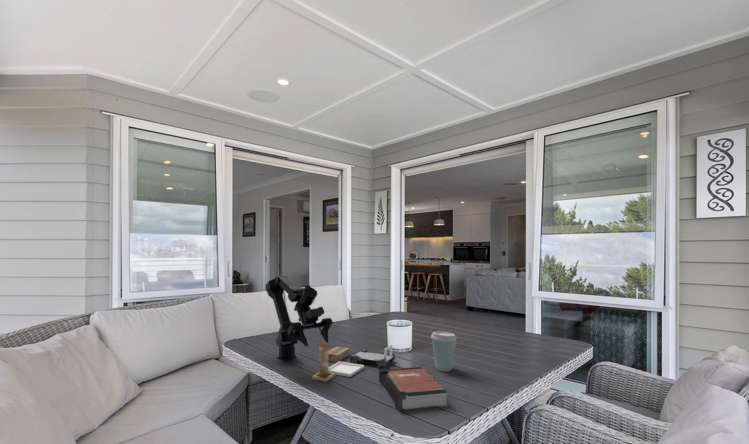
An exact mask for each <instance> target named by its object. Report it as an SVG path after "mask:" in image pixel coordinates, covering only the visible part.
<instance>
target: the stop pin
mask: <svg viewBox="0 0 749 444" xmlns="http://www.w3.org/2000/svg"><path fill="white" fill-rule="evenodd" d="M329 346H330V344H329V342H328V343H326V342H320V343H319V346H318V347H319V351H318V352H319V353H318V355H319V357H318V359H319V361H318V362H319V363H318V365H319V367H318V370H319V371H318V373H319V376H320V377H325V378H326V377H328V376H329V367H330V366H329V362H330V361H329V350H330V347H329Z"/></svg>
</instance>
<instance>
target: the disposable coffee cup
mask: <svg viewBox="0 0 749 444" xmlns="http://www.w3.org/2000/svg"><path fill="white" fill-rule="evenodd" d="M430 338H431V343H432V344H431V345H432V349H433V350H432V351H433V358H434V365H435V369H436V370H437V371H440V372H450V371H451V370H452V368H453V364H454V356H455V350H456V343H457V340H458V338H457V336H456V335H455V333H451V332H448V331H433V332H432V334H431V335H430Z"/></svg>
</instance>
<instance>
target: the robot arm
mask: <svg viewBox="0 0 749 444" xmlns="http://www.w3.org/2000/svg"><path fill="white" fill-rule="evenodd" d="M265 291H266V292H267V295H268V297H270V299H272V301H273V304H274V308H275V312H276V315H277V318H278V323H279V325H280V326H279V329H278V334H277V337H276V339H275V344H276V345H277V346H278V356H276V359H278V360H284V361H289V360H291V359H293V358H296V357H297V354H296V353H295V352H296V347H295V344H298V341H299V342H300V343H301V344H302V345H304V346H305V347H306V348H307V347H309V343H308V340H307V337H306V335H305V332H304V330H312V329H318V330H319V331H320V335H321V337H322V338H323V340H324V341H325V342H324V343H329V330H330V328H331V326H332V325H333V323H334V321H333V319H332V318H331V317H326V318H324V317H323V318H322V319H321V321H320V322H318V321H319V317H322V316H323V315H324V314H325V309H324V308H323V306H318V307H317V308H311V305H313V304H314V301H315V299H316V298H317V296H318V291H317V290H316V289H315V288H313V287H312V286H311V285H309V284H308V285H305V286H304V287H302V286H298V285H296V284H295V283H294V282H293V281H291V279H289V278H288V276H286V275H277V276H275V277H274V278H273V279H271V280H268V282H266V284H265ZM284 292H286V294H287V299H288V300H289V301H290V303H295V305H294V307H293V311H294V312H297V315H298V317H299V318H298V320H297V321H296V322H295V321H294V322H292V321H291V319H290V315H289V312H288V309H287V305H286V302H285V299H284Z"/></svg>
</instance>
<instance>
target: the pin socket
mask: <svg viewBox="0 0 749 444" xmlns="http://www.w3.org/2000/svg"><path fill="white" fill-rule="evenodd" d="M335 377H336V375H335V373H330V372H329V376H328V377H326V378H325V377H320V376H319V372H317V373H316V374H313V375H312V376H311V379H312V380H314V381H321V382H324V383H325V382H328V381H330V380H332V379H333V378H335Z"/></svg>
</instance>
